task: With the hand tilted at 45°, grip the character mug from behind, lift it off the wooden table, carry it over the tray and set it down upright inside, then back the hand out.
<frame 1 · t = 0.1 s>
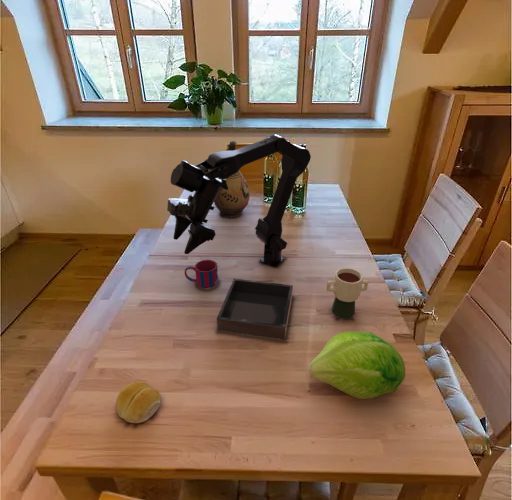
hand: (180, 246, 101), 15 cm above the table, tool tilted 35°, fingers open, 9 cm apart
bread roll: (140, 405, 74), on the table
tray: (257, 314, 98), on the table
ceramic jug: (232, 212, 154), on the table
cup: (202, 283, 110), on the table
character mug: (342, 313, 99), on the table
lettuce: (352, 383, 79), on the table
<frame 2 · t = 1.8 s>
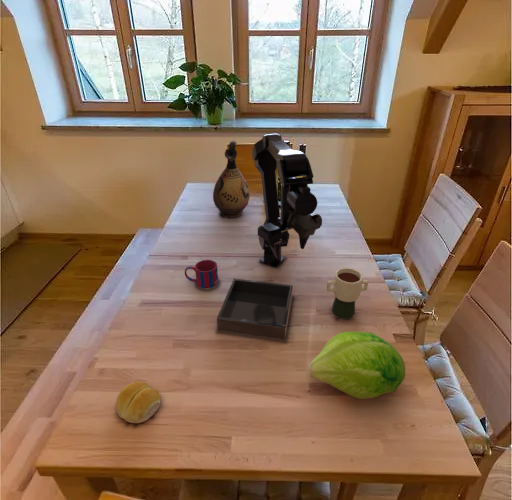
hand: (289, 253, 101), 13 cm above the table, tool pointing down, fingers open, 9 cm apart
nothing on the table moved.
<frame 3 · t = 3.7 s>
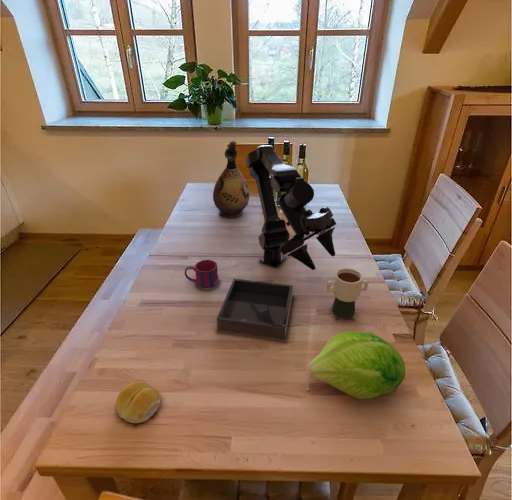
hand: (324, 262, 96), 13 cm above the table, tool tilted 45°, fingers open, 9 cm apart
nothing on the table moved.
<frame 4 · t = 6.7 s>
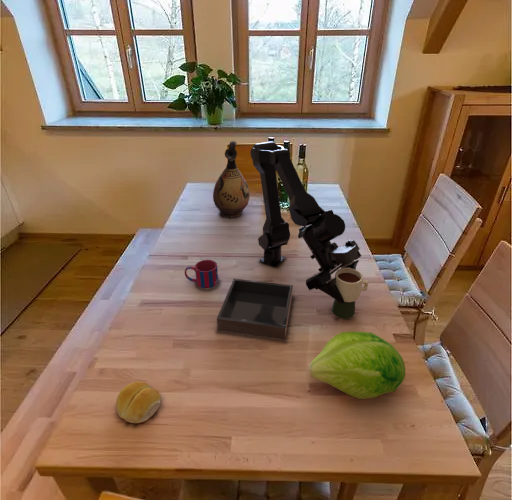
hand: (350, 296, 94), 7 cm above the table, tool tilted 45°, fingers closed on character mug, 7 cm apart
character mug: (342, 313, 99), on the table, touching gripper
everything else where it was.
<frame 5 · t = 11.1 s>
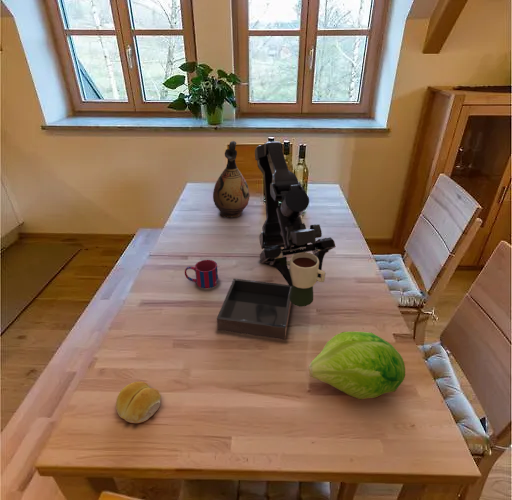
hand: (305, 283, 88), 13 cm above the table, tool tilted 45°, fingers closed on character mug, 7 cm apart
character mug: (300, 301, 93), point 6 cm above the table, touching gripper
everything else where it was.
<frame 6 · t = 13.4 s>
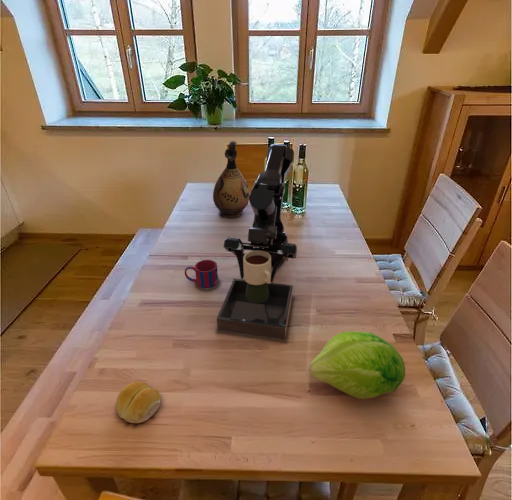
hand: (256, 280, 91), 13 cm above the table, tool tilted 45°, fingers closed on character mug, 7 cm apart
character mug: (257, 298, 96), point 6 cm above the table, touching gripper
everything else where it was.
when the fingers open (8 cm above the table, at t = 15.4 s): character mug stays where it is, resting on tray.
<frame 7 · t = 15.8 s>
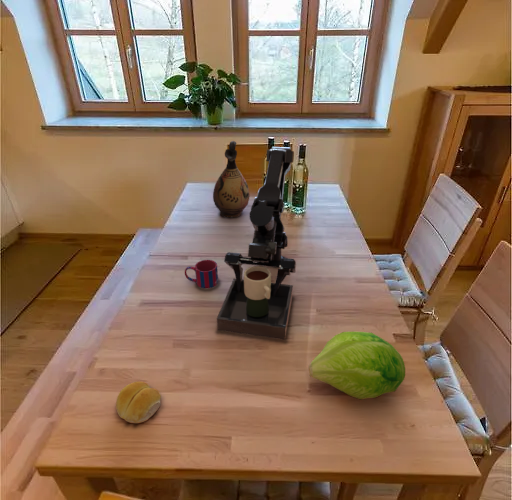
hand: (256, 294, 93), 8 cm above the table, tool tilted 45°, fingers open, 9 cm apart
character mug: (257, 312, 98), point 1 cm above the table, touching tray
everything else where it was.
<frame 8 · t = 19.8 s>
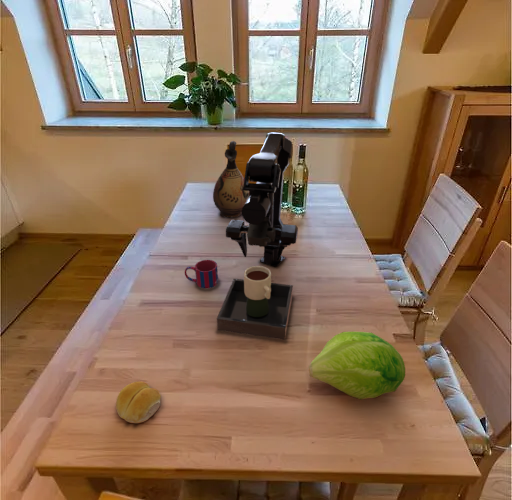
hand: (261, 258, 99), 13 cm above the table, tool pointing down, fingers open, 9 cm apart
nothing on the table moved.
at the end: character mug inside the target area in the tray (0.2 cm from its centre), point 0.6 cm above the tray's base; character mug tilted 0°; the gripper is holding nothing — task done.
